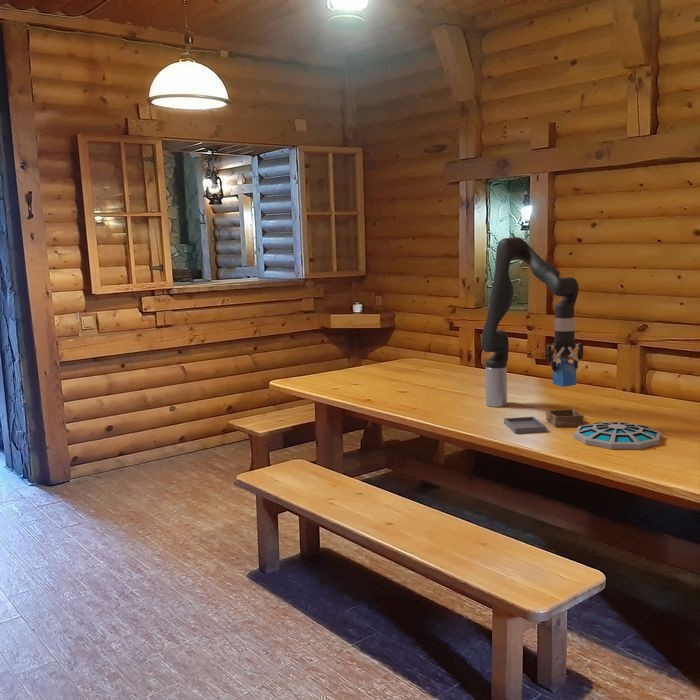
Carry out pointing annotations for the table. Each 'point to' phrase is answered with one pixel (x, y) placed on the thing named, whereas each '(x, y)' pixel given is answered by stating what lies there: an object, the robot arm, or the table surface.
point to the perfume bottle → (564, 373)
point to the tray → (524, 425)
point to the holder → (564, 418)
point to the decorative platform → (618, 435)
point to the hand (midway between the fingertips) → (564, 370)
